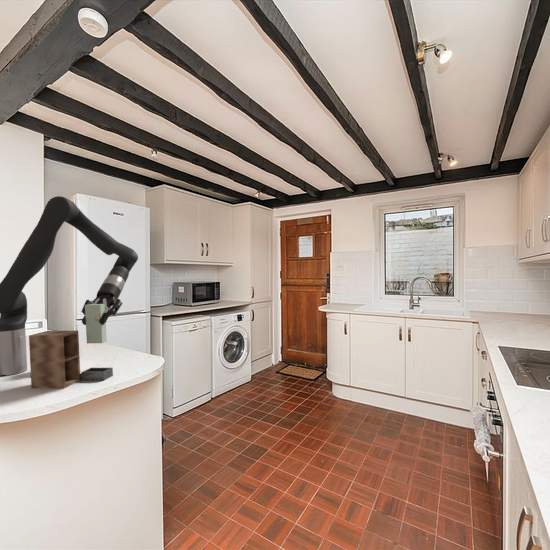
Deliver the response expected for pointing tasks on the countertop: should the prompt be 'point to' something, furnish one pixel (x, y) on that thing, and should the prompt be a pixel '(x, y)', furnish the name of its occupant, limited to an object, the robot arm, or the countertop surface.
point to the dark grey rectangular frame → (96, 374)
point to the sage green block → (95, 323)
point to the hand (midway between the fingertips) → (92, 323)
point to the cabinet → (54, 359)
